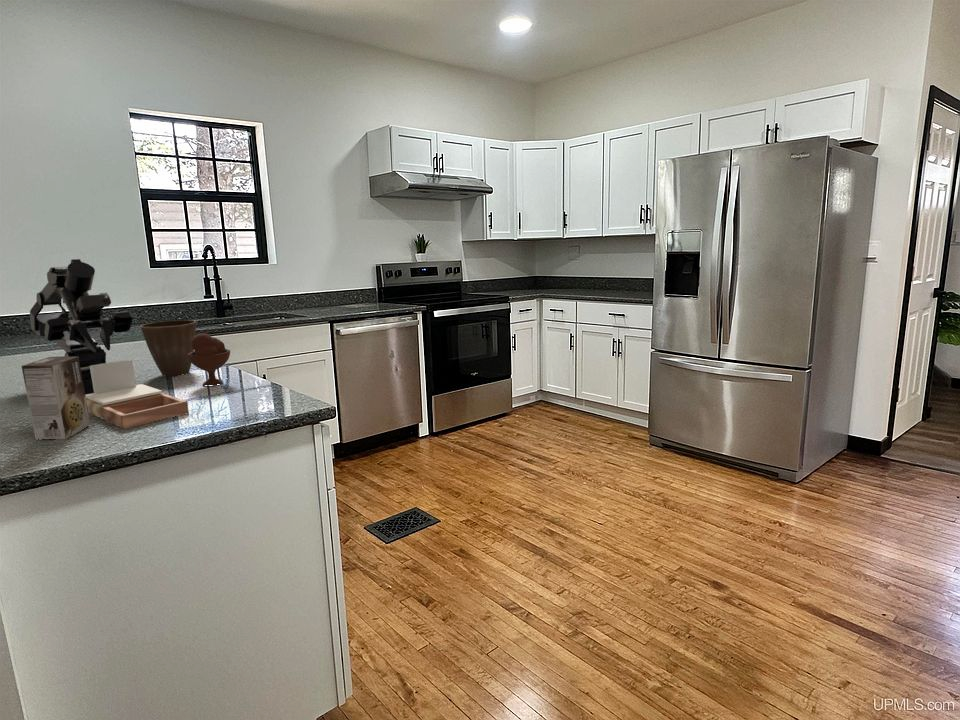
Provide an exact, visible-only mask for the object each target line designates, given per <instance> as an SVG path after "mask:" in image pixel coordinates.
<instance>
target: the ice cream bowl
mask: <svg viewBox="0 0 960 720" xmlns="http://www.w3.org/2000/svg"><path fill="white" fill-rule="evenodd" d="M191 347H192V348H193V349H194V351H193V352H191V353H189V354H187V355H188V358H189V360H190V362H191V365H193V366H194V367H195V368H198V369H199V370H201V371H206V372H207V374H208V379H207V380H205V381H204V382H202V384H201V385H217V384H221V383H222V382H223V380H220V379H218V378H217V377H216V370H218V369H220V368H222V367H223V366H224V365H225V364H226V363H227V362H228V361H229V359H230V356H231V349H227V348H226V347H225V343H224V342H223V341H222V340H220V339H219V338H217V337H212V336H211V334H208V333H198V334H196V335H195V336H194V337H193V339H192V341H191ZM223 383H224V382H223Z"/></svg>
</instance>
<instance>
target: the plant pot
mask: <svg viewBox="0 0 960 720" xmlns="http://www.w3.org/2000/svg"><path fill="white" fill-rule="evenodd" d="M140 328H141V332H142V335H143V338H144V341H145V343H146V346H147V348H148V350H149V351H148V352H150V355H151V356H152V357H151V358H152V360H153V361H154V363H155V365H156V366H157V369H158V370H159V372H160V373H161V375H162V376H163V377H177V376H176V375H180V376H183V375H182V374H184V375H187V374H189V373H190V371H191V367H192V363H191V362H190V360H189V358H188V355H187V354H189V353H191V352H193V351H195V350H194V349H193V348H192V347H191V341H192V339H193V337H194V336H196V335H197V334H196V333H197V332H196V329H197V322H196V320H194V319H193V320H191V319H188V320H187V319H179V320H162V321H156V322H148V323H145V324H141V325H140ZM188 372H189V373H188ZM186 373H187V374H186Z"/></svg>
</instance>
